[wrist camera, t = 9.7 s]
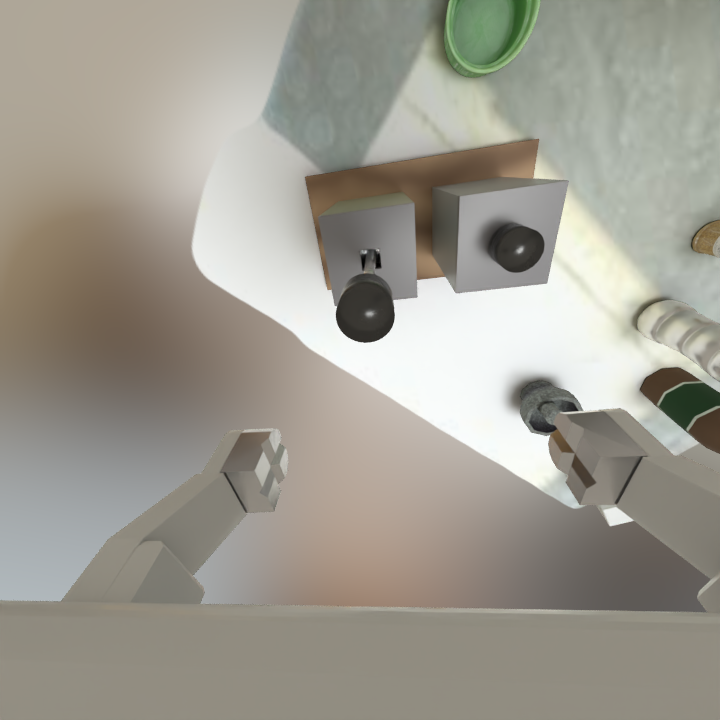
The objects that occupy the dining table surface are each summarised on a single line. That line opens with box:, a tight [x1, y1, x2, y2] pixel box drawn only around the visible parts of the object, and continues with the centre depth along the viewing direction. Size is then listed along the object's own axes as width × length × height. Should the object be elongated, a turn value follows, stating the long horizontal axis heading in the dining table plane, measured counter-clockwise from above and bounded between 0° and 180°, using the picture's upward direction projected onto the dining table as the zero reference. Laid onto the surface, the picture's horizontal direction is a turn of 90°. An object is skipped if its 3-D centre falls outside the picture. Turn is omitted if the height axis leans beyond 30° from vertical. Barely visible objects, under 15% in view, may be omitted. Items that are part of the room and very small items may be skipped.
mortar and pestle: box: [520, 381, 583, 436], centre depth 54 cm, size 11×9×12 cm
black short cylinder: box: [489, 223, 545, 273], centre depth 33 cm, size 7×7×19 cm
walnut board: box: [305, 139, 539, 290], centre depth 43 cm, size 16×30×2 cm, turn 98°
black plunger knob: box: [336, 248, 395, 343], centre depth 26 cm, size 7×7×19 cm
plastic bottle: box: [637, 300, 720, 382], centre depth 41 cm, size 6×7×20 cm
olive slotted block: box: [318, 192, 417, 306], centre depth 36 cm, size 9×9×16 cm
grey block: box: [432, 177, 569, 293], centre depth 35 cm, size 9×9×16 cm
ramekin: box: [444, 0, 541, 77], centre depth 31 cm, size 9×9×4 cm
